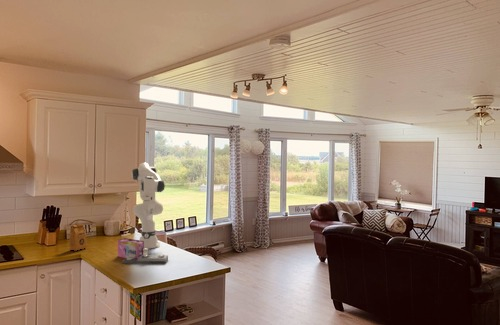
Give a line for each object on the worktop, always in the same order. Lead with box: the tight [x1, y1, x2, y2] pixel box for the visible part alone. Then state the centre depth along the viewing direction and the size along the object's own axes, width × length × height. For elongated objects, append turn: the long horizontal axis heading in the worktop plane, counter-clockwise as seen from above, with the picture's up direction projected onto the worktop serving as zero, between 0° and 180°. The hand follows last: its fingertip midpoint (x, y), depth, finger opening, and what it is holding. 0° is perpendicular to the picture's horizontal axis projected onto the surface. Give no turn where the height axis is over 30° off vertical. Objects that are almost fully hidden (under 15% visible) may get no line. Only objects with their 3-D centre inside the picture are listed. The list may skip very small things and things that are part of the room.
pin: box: [143, 248, 149, 258], centre depth 277 cm, size 4×4×10 cm
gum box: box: [117, 237, 144, 259], centre depth 290 cm, size 24×8×14 cm, turn 58°
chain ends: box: [121, 254, 169, 265], centre depth 276 cm, size 9×32×5 cm, turn 89°
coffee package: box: [69, 223, 87, 252], centre depth 316 cm, size 10×12×22 cm
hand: (149, 214), depth 287 cm, fingers open, 8 cm apart
